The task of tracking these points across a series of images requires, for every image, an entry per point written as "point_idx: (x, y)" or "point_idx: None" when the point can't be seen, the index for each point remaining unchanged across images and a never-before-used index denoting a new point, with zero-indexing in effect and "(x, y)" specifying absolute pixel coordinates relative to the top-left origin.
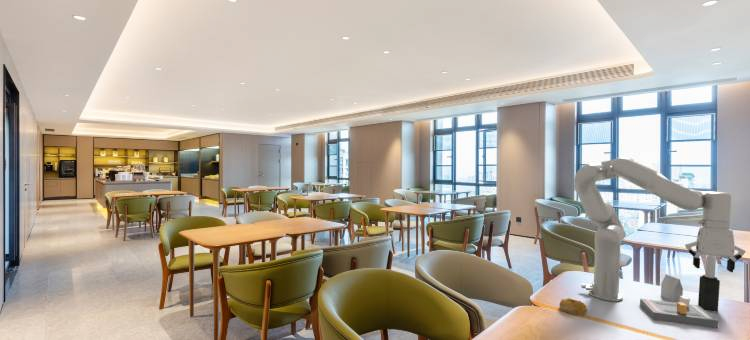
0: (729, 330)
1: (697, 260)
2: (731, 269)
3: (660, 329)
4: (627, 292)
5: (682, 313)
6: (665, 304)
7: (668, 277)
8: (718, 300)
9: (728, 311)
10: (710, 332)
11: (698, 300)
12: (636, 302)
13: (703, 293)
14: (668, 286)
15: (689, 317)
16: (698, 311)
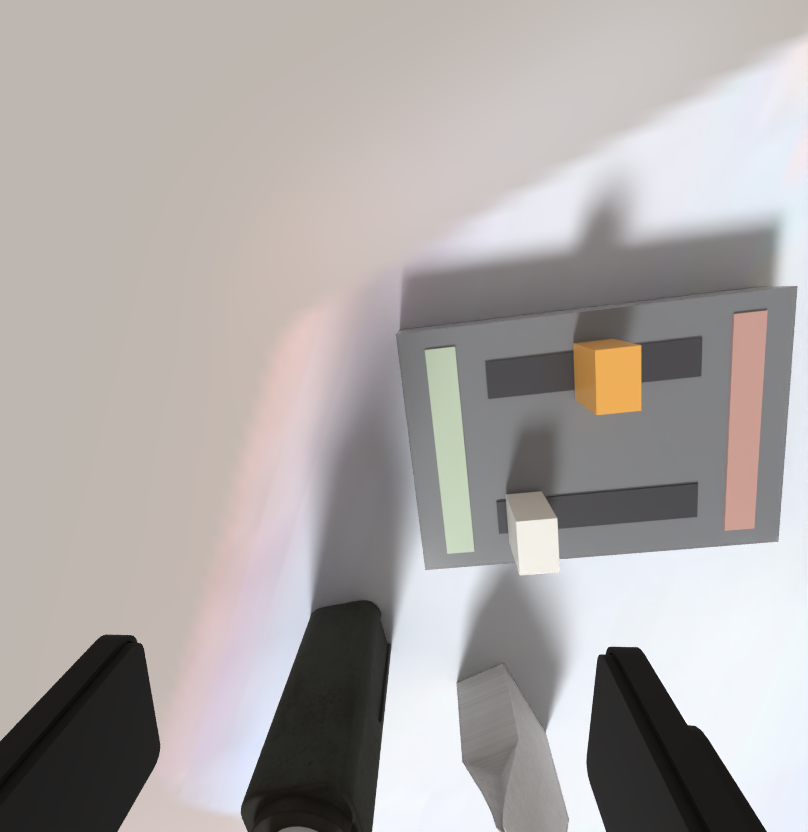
0: (343, 334)
1: (727, 824)
2: (95, 667)
3: (776, 122)
4: (733, 715)
5: (600, 340)
6: (643, 490)
7: None
8: (293, 663)
9: (256, 638)
10: (464, 240)
11: (387, 677)
12: (743, 564)
13: (370, 692)
14: (541, 774)
15: (563, 313)
16: (465, 455)
